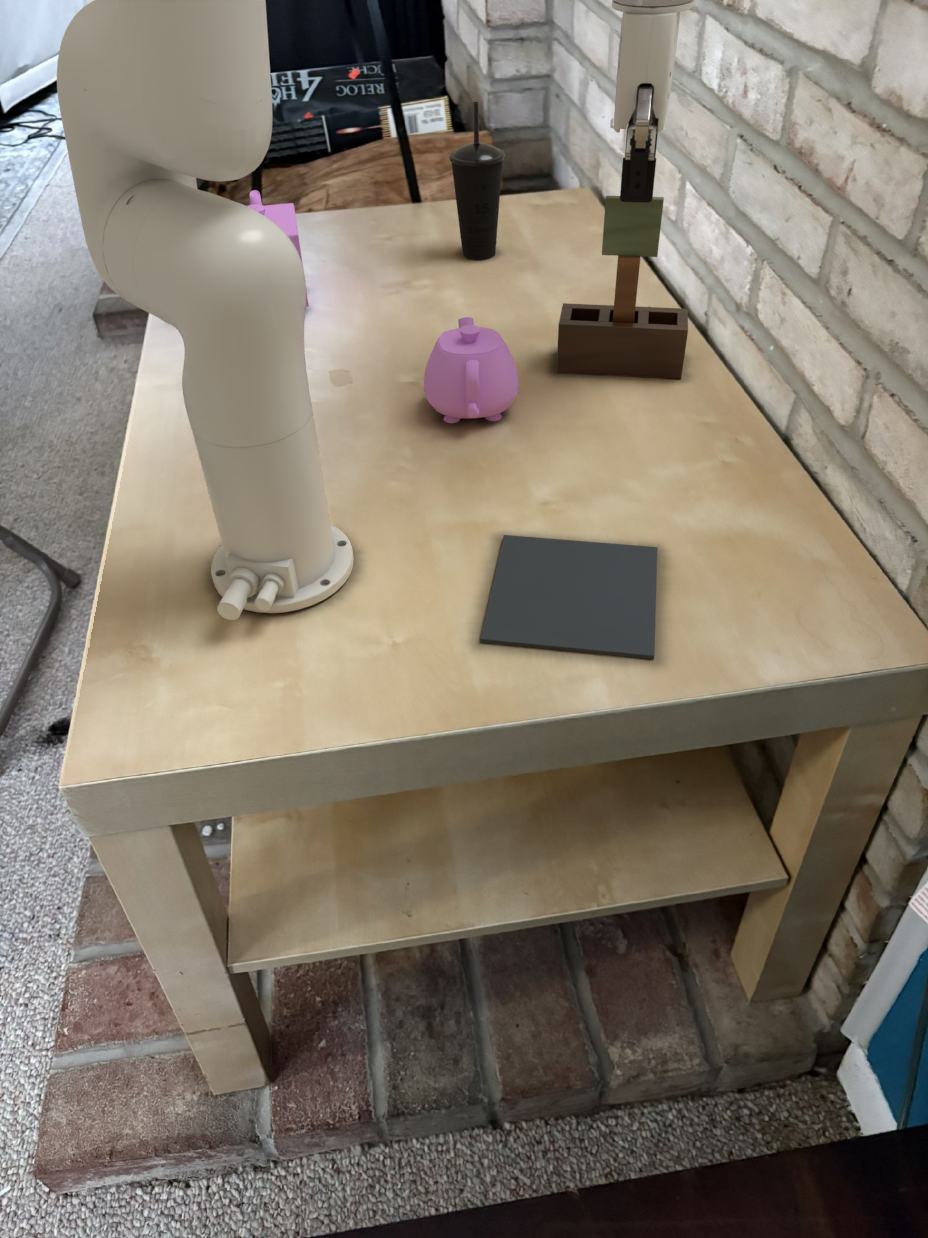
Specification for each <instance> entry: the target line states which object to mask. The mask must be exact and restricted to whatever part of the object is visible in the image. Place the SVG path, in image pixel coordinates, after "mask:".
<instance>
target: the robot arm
mask: <svg viewBox="0 0 928 1238" xmlns="http://www.w3.org/2000/svg"><path fill="white" fill-rule="evenodd" d="M266 2H267V1H266V0H92V1H90V2H89V3H87V4H86V5H84V6H83V7H82V8H81V9H79V11H77V13H76V14H75V15H74V16H73V17H72V19H71V20H70V21H69V23H68V25H67V27H66V28H65V31H64V34H63V37H62V39H61V41H60V42H61V43H60V46H59V50H58V57H57V66H56V92H57V100H58V101H57V102H58V106H59V112H60V118H61V123H62V129H63V133H64V139H65V144H66V150H67V155H68V159H69V165H70V170H71V174H72V181H73V186H74V192H75V194H76V195H75V196H76V201H77V206H78V211H79V215H80V220H81V226H82V231H83V235H84V239H85V243H86V247H87V249H88V253H89V255H90V258H91V260H92V263H93V265H94V268H95V269H96V271H97V273H98V275H99V276H100V278H101V279H102V280H103V282H104V283H105V284H106V285H107V286H108V288H109V289H111V290H112V292H114V293H115V294H116V295H117V296H118V297H119V298H122V299H123V300H124V301H126V302H127V303H129V304H131V305H133V306H135V307H136V308H137V309H140V310H142V311H144V312H146V313H148V314H150V315H152V316H154V317H156V318H158V319H160V320H161V321H163V322H164V323H166V324H168V325H170V326H172V327H174V328H175V329H176V330H177V331H178V333H179V335H180V337H181V338H182V342H183V346H184V347H183V348H184V358H183V367H182V375H181V387H182V389H181V390H182V397H183V403H184V408H185V411H186V416H187V419H188V422H189V426H190V429H191V432H192V436H193V440H194V444H195V447H196V451H197V455H198V459H199V462H200V466H201V470H202V474H203V477H204V481H205V485H206V489H207V492H208V496H209V500H210V504H211V508H212V512H213V515H214V519H215V522H216V523H215V524H216V528H217V530H218V531H217V532H218V534H219V537H220V541H221V546H219V547H218V548H217V551H216V552H215V554H214V556H213V558H212V562H211V565H210V573H211V574H210V575H211V579H212V582H213V585H214V587H215V590H216V591H217V593H218V594H219V595H220V596H221V599H220V601H219V603H218V605H217V607H216V610H217V613H218V614H219V616H221V617H222V618H224V619H225V620H228V621H235V620H238V619H239V618H240V617H241V614H242V613H243V611H250V612H254V613H261V614H263V613H265V614H281V613H288V612H289V613H290V612H294V611H299V610H302V609H306V608H308V607H312V606H314V605H316V604H318V603H320V602H322V601H325V600H326V599H328V598H329V597H331V596H332V595H333V594H335V593H336V592H337V591H339V589H341V587H343V586H344V585H345V583H346V582H347V581H348V579H349V578H350V576H351V574H352V571H353V568H354V549H353V547H352V543H351V541H350V539H349V537H348V536H347V535H346V534H345V532H343V531H342V530H341V529H339V528H338V527H337V526H335V525H333V524H332V523H331V517H330V510H329V505H328V498H327V491H326V486H325V485H326V484H325V479H324V471H323V467H322V466H323V465H322V459H321V454H320V447H319V441H318V440H319V439H318V433H317V427H316V421H315V416H314V409H313V404H312V399H311V393H310V385H309V379H308V378H309V377H308V372H307V371H308V370H307V362H306V361H307V360H306V351H305V348H306V347H305V318H306V317H305V316H306V306H305V303H306V291H307V284H306V283H307V282H306V275H305V268H304V264H303V265H302V262H303V260H302V261H301V259H300V256H299V254H298V251H297V249H296V248H295V246H294V244H293V243H292V241H291V240H290V239H289V237H288V236H287V235H286V233H285V232H284V231H283V230H282V229H281V228H280V227H278V226H277V225H276V224H275V223H274V222H273V221H271V220H270V219H269V218H267V217H266V216H264V215H263V214H261V213H259V212H258V211H256V210H254V209H251V208H249V207H247V206H248V205H245V204H243V203H241V202H237V201H234V200H231V199H229V198H227V197H223V196H221V195H218V194H215V193H213V192H209V191H205V190H201V189H198V182H197V179H200V180H202V181H203V180H204V181H209V182H219V183H220V182H231V181H236V180H240V179H242V178H245V177H247V176H248V175H249V174H251V173H253V172H254V171H256V169H257V168H258V167H260V165H261V164H262V163H263V161H264V159H265V157H266V155H267V153H268V151H269V148H270V144H271V140H272V134H273V93H272V92H273V91H272V79H271V78H272V76H271V64H270V47H269V46H270V45H269V31H268V18H267V16H268V15H267V3H266ZM695 4H696V0H612V1H611V8H612V9H614V10H615V11H618V12H620V13H622V17H621V25H620V26H621V27H620V33H619V42H618V43H619V44H618V56H617V69H616V83H615V85H616V86H615V98H614V99H615V100H614V113H613V115H614V116H613V126H612V127H613V130H614V132H616V133H617V134H619V133H620V131H621V130H626V135H625V136H626V138H625V148H624V149H625V150H624V151H625V152H624V153H625V154H624V157H623V158H622V164H621V165H622V166H621V177H620V181H621V182H620V191H619V196H620V200H621V201H622V202H647V203H648V202H651V201H652V198H653V197H654V188H655V187H654V186H655V178H656V177H655V176H656V165H657V157H656V156H657V154H656V153H657V145H658V135H659V134H658V133H660V132H661V131H662V130H664V127H665V121H666V117H667V112H668V108H669V101H670V96H671V91H672V85H673V78H674V71H675V63H676V55H677V54H676V53H677V48H678V46H677V45H678V37H679V28H680V20H681V13H683V12H685V11H686V12H687V11H688V10H691V9H693V8H694V7H695V6H696V5H695Z"/></svg>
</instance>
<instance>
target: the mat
mask: <svg viewBox="0 0 928 1238" xmlns="http://www.w3.org/2000/svg"><path fill="white" fill-rule="evenodd" d="M657 575H658V546H649V545H648V546H647V545H646V546H645V545H634V544H622V543H611V542H609V543H608V542H599V541H598V542H597V541H585V540H584V541H583V540H574V539H573V540H571V539H561V538H560V539H559V538H546V537H534V536H523V535H510V534H503V536H502V541H501V544H500V549H499V553H498V559H497V562H496V567H495V572H494V576H493V581H492V585H491V589H490V593H489V598H488V602H487V607H486V612H485V616H484V621H483V624H482V629H481V632H480V638H479V642H480V643H484V644H485V643H486V644H496V645H505V646H514V647H515V646H516V647H525V648H536V649H547V650H557V651H566V652H578V653H579V652H580V653H586V654H587V653H588V654H597V655H607V656H616V657H617V656H618V657H628V658H638V659H647V660H648V659H649V660H654V659H655V650H656V649H655V647H656V645H655V644H656V615H657V614H656V613H657V612H656V611H657Z"/></svg>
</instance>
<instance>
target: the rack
mask: <svg viewBox="0 0 928 1238" xmlns="http://www.w3.org/2000/svg"><path fill="white" fill-rule="evenodd" d="M613 311H614V304H609V305H608V304H587V303H568V302H567V303H566V302H565V303H562V307H561V311H560V315H559V321H558V331H557V349H556V350H557V351H556V353H557V354H556V355H557V356H556V373H564V374H582V375H599V376H615V377H616V376H618V377H636V378H654V379H657V378H658V379H673V380H674V379H675V380H682V376H683V369H684V362H685V356H686V348H687V341H688V335H689V308H681V307H680V308H679V307H677V308H676V307H657V306H654V307H653V306H636V307H635V317H634V323H619V322H613Z"/></svg>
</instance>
